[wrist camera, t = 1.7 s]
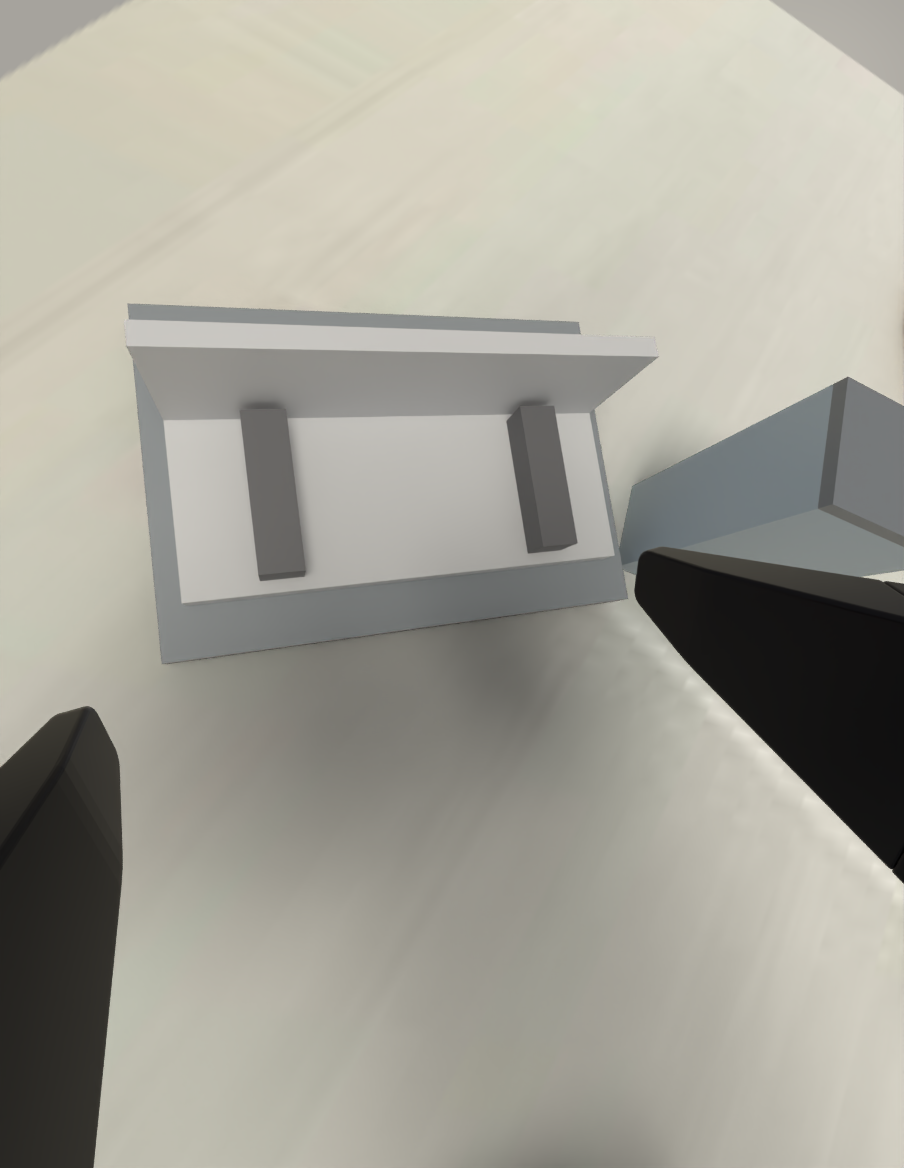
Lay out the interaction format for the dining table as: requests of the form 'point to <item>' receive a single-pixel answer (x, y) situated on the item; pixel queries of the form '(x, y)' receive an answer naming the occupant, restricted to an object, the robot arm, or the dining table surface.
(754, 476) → the block
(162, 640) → the grey holder stand
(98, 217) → the dining table surface
